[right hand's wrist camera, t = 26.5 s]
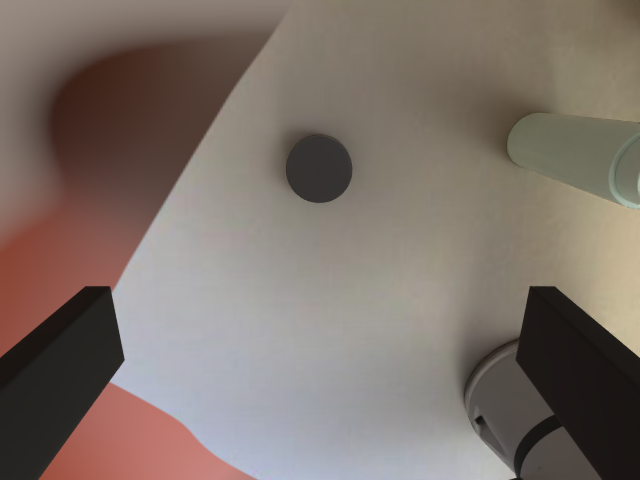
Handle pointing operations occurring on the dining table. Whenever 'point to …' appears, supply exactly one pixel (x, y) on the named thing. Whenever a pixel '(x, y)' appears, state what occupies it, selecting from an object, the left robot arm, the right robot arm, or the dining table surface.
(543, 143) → the pale green cylinder
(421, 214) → the dining table surface
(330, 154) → the lid
